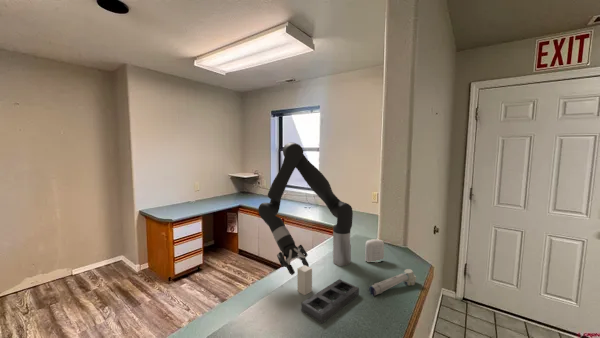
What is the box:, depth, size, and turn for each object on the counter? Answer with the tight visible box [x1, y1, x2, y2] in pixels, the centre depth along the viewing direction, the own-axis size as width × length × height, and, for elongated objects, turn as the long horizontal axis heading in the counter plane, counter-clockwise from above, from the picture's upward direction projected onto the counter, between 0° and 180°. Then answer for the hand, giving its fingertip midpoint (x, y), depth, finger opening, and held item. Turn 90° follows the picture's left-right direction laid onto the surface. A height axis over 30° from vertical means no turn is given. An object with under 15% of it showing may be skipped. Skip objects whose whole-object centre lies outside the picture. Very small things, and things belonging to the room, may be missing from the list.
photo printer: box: [364, 238, 385, 263], centre depth 129 cm, size 10×4×12 cm, turn 98°
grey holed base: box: [300, 278, 360, 324], centre depth 93 cm, size 24×10×3 cm, turn 135°
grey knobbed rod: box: [368, 268, 417, 297], centre depth 103 cm, size 5×7×25 cm
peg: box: [297, 265, 313, 296], centre depth 101 cm, size 4×4×10 cm
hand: (300, 270), depth 102 cm, fingers open, 8 cm apart
